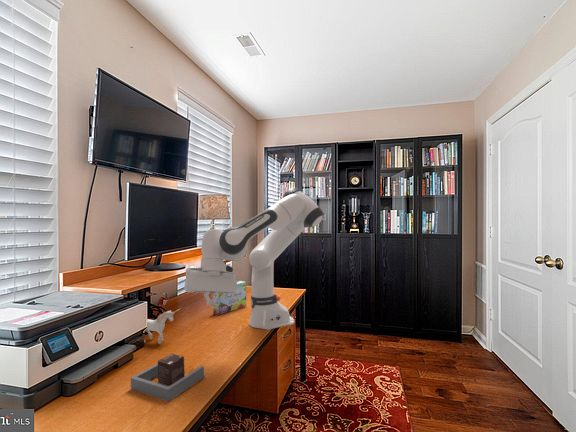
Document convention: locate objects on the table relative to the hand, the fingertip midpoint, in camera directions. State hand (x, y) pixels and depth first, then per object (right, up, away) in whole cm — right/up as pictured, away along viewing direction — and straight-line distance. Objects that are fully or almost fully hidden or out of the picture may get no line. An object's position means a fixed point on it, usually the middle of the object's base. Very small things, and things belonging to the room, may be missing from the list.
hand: (211, 304), depth 116 cm
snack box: (-4, -21, +63) cm, 67 cm away
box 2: (-10, -21, -15) cm, 28 cm away
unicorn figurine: (-28, -22, +21) cm, 41 cm away
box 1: (-10, -21, -14) cm, 27 cm away
